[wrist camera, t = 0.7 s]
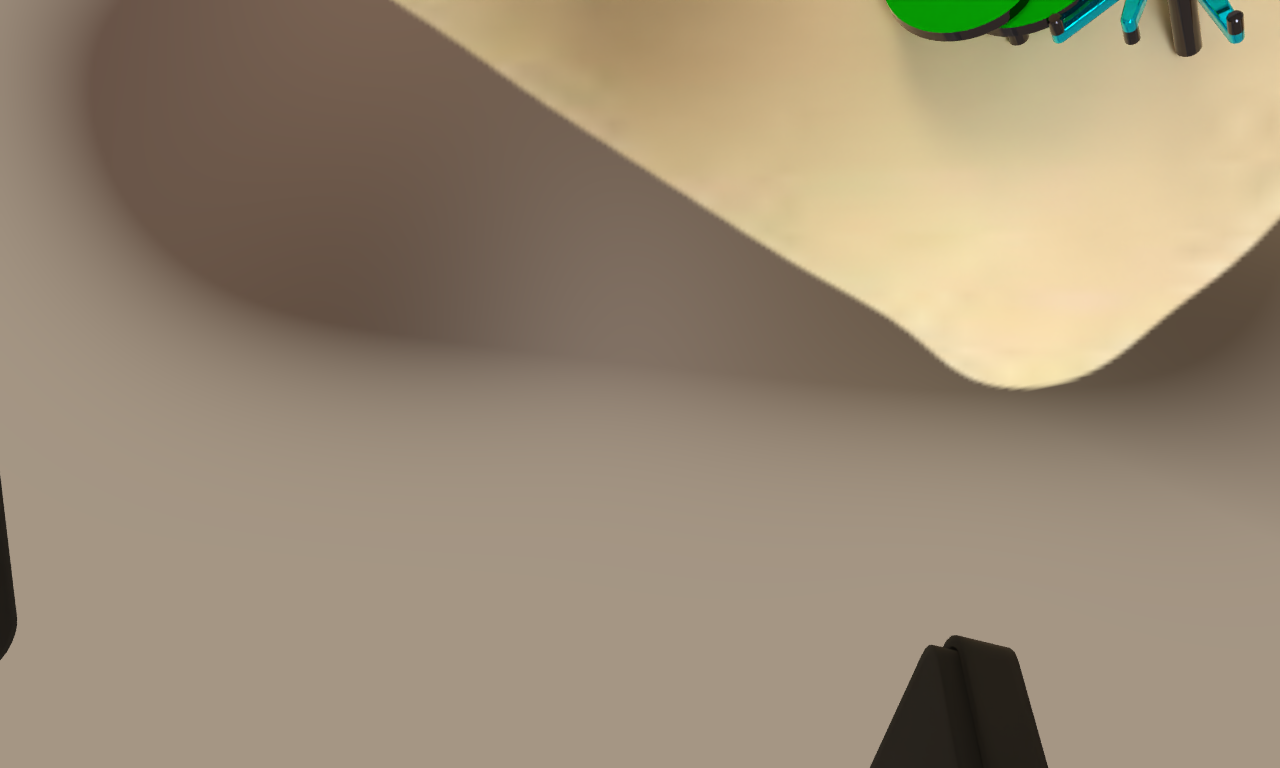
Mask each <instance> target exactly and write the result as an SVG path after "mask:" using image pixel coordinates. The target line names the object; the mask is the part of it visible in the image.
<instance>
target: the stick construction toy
mask: <svg viewBox="0 0 1280 768" xmlns="http://www.w3.org/2000/svg"><path fill="white" fill-rule="evenodd" d="M1117 1H1119V0H886V2H887V4H888V6H889V8H890V10H891V12H892V14H893V16H894V17H895V19H896V20H897V21H898V22H899V23H900V24H901V26H903V27H904V28H905V29H906V30H908V31H909V32H911V33H913V34H915V35H917V36H919V37H922V38H926V39H929V40H935V41H960V40H966V39H971V38H974V37H978V36H981V35H984V34H986V33H987V34H990V35H994V36H1001V37H1008V39H1009V42H1010V43H1011V44H1012V45H1021V44H1023V43H1025V42H1026V41H1027V40H1028V38H1029V34H1030V33H1034V32H1037V31H1040V30H1043V29H1045V28H1047V27H1049V28H1050V32H1051V35H1052V39H1053V41H1054V42H1055V43H1062V42H1064V41H1065V40H1067V39H1068V38H1069V37H1071V36H1072V35H1073V34H1075V33H1076V32H1077V31H1079V30H1080V29H1081V28H1083V27H1084V26H1085V25H1087V24H1088V23H1089V22H1091V21H1092V20H1093V19H1095V18H1096V17H1097V16H1099V15H1100V14H1101V13H1103V12H1104V11H1105V10H1107V9H1108V8H1109V7H1111V6H1112V5H1113V4H1115V3H1116V2H1117ZM1198 1H1199V3H1200V4H1201V5H1202V7H1203V8H1204V9H1205V11H1206V12H1207V13H1208V14H1209V16H1210V17H1211V18H1212V20H1213V21H1214V22H1215V24H1216V25H1217V26H1218V27H1219V29H1220V30H1221V31H1222V33H1223V34H1224V35H1225V37H1226V38H1227V39H1228V41H1229V42H1230V43H1233V44H1236V43H1240V42H1241V41H1243V39H1244V37H1245V30H1244V15H1243V12H1241V11H1239V10H1235V11H1234V9H1233V8H1232V6H1231V4H1230V2H1229V1H1228V0H1198ZM1146 2H1147V0H1126V1H1125V5H1124V8H1123V12H1122V16H1121V20H1120V21H1121V26H1122V31H1123V35H1124V40H1125V43H1126V44H1128V45H1133V44H1136V43H1137V42H1138V41H1139V40H1140V32H1139V26H1138V23H1139V20H1140V18H1141V15H1142V13H1143V10H1144V7H1145V5H1146ZM1167 2H1168V8H1169V15H1170V22H1171V28H1172V35H1173V41H1174V48H1175V52H1176V53H1177V54H1178V55H1179V56H1182V57H1188V56H1192V55H1194V54H1196V53H1197V52H1199V51H1200V49H1201V47H1202V37H1201V28H1200V20H1199V11H1198V3H1197V0H1167ZM1063 19H1064V20H1063Z"/></svg>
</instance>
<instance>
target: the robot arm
mask: <svg viewBox="0 0 1280 768" xmlns="http://www.w3.org/2000/svg"><path fill="white" fill-rule="evenodd" d="M16 627H17V614H16V606H15V597H14V589H13V580H12V572H11V564H10V556H9V547H8V538H7V529H6V521H5V512H4V504H3V496H2V487H1V479H0V660H1V659H2V657H3V656H4V655H5V653H6V652H7V651H8V649H9V647H10V645H11V643H12V641H13V638H14V635H15V632H16ZM870 768H1048V765H1047V762H1046V759H1045V755H1044V751H1043V748H1042V744H1041V740H1040V737H1039V734H1038V730H1037V726H1036V723H1035V719H1034V715H1033V712H1032V709H1031V705H1030V701H1029V698H1028V694H1027V690H1026V687H1025V683H1024V679H1023V676H1022V672H1021V669H1020V665H1019V662H1018V659H1017V657H1016V654H1015V652H1014V651H1013V650H1012V649H1010V648H1007V647H1003V646H999V645H994V644H991V643H986V642H982V641H978V640H974V639H970V638H966V637H962V636H957V635H954V636H951V637H950V638H949V639H948V640H947V641H946V642H945V644H944V646H943V647H939V646H935V645H929V646H928V647H927V648H926V649H925V650H924V652H923V654H922V656H921V658H920V660H919V662H918V664H917V667H916V669H915V671H914V673H913V675H912V678H911V680H910V682H909V684H908V686H907V688H906V691H905V693H904V695H903V697H902V699H901V701H900V703H899V706H898V708H897V710H896V712H895V714H894V717H893V719H892V721H891V723H890V725H889V728H888V729H887V732H886V734H885V736H884V738H883V740H882V743H881V745H880V747H879V749H878V751H877V754H876V755H875V758H874V760H873V762H872V764H871V766H870Z"/></svg>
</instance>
